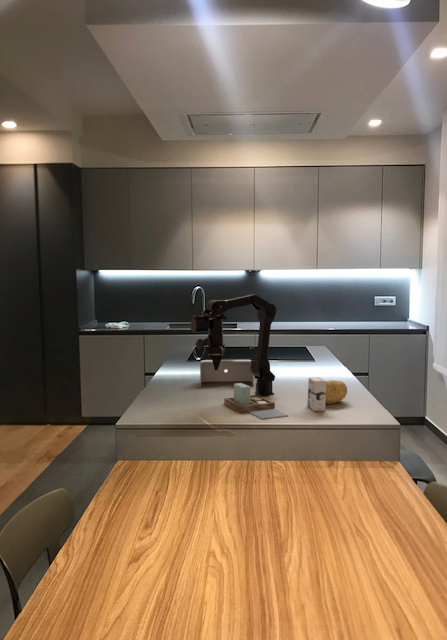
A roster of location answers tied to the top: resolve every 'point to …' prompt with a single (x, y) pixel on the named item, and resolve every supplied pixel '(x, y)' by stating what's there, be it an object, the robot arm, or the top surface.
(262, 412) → the mat
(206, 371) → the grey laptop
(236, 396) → the tall sage green box
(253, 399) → the offcut
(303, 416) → the top surface
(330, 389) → the potato
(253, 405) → the tray
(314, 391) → the ink box
